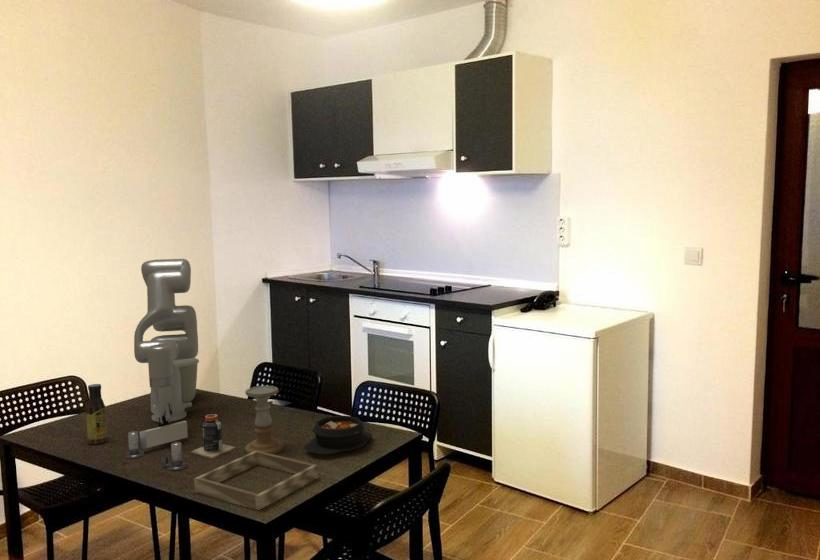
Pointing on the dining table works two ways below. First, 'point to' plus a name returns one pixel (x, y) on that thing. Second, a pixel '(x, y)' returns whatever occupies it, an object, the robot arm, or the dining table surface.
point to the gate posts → (175, 452)
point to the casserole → (338, 435)
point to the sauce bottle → (96, 416)
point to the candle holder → (263, 421)
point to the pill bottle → (212, 433)
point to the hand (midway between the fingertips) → (164, 434)
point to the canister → (187, 377)
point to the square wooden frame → (215, 489)
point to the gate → (163, 434)
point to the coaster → (213, 454)
